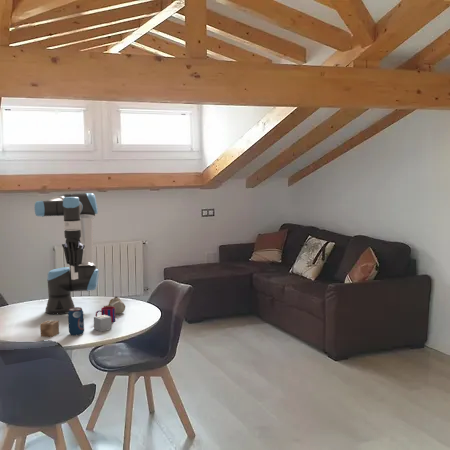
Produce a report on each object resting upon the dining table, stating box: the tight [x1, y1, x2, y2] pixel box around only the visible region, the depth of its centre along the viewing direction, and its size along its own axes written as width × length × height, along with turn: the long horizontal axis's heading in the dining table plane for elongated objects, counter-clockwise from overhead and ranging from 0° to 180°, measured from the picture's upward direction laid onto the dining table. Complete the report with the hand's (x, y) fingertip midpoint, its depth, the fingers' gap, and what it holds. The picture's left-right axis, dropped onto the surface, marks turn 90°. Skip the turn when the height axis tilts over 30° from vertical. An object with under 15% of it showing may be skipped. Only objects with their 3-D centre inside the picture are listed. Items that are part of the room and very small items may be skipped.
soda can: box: [67, 306, 85, 337], centre depth 264 cm, size 7×7×12 cm
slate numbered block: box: [93, 314, 113, 333], centre depth 272 cm, size 6×6×6 cm
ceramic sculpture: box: [103, 296, 126, 315], centre depth 304 cm, size 11×9×15 cm
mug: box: [95, 306, 116, 324], centre depth 284 cm, size 7×10×7 cm
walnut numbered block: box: [39, 320, 60, 338], centre depth 264 cm, size 6×6×6 cm
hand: (74, 278), depth 270 cm, fingers closed
